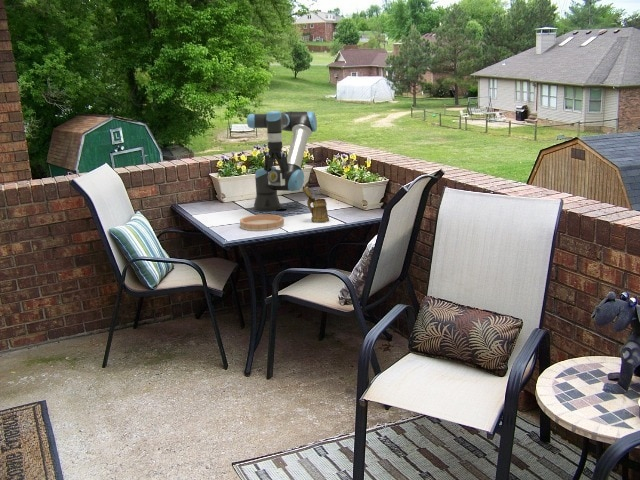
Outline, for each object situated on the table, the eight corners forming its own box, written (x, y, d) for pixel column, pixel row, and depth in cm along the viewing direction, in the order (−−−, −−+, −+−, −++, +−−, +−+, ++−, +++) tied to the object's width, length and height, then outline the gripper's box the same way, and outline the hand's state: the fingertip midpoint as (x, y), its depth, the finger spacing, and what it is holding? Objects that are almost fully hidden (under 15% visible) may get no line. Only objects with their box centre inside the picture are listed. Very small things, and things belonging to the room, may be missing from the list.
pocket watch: (281, 186, 365) (281, 167, 363) (266, 186, 367) (265, 167, 364) (285, 183, 373) (285, 165, 370) (270, 183, 375) (270, 164, 372)
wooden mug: (306, 218, 369) (305, 184, 364) (331, 219, 364) (330, 185, 360) (301, 222, 361) (299, 187, 356) (325, 223, 356) (324, 188, 352)
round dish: (231, 227, 354) (230, 221, 353) (260, 218, 371) (259, 212, 370) (264, 232, 341) (263, 226, 340) (292, 223, 358) (292, 217, 357)
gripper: (255, 141, 367) (257, 184, 372) (285, 142, 355) (287, 187, 360) (264, 139, 373) (266, 182, 378) (294, 141, 361) (296, 185, 366)
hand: (276, 184), depth 369 cm, fingers closed on pocket watch, 8 cm apart
